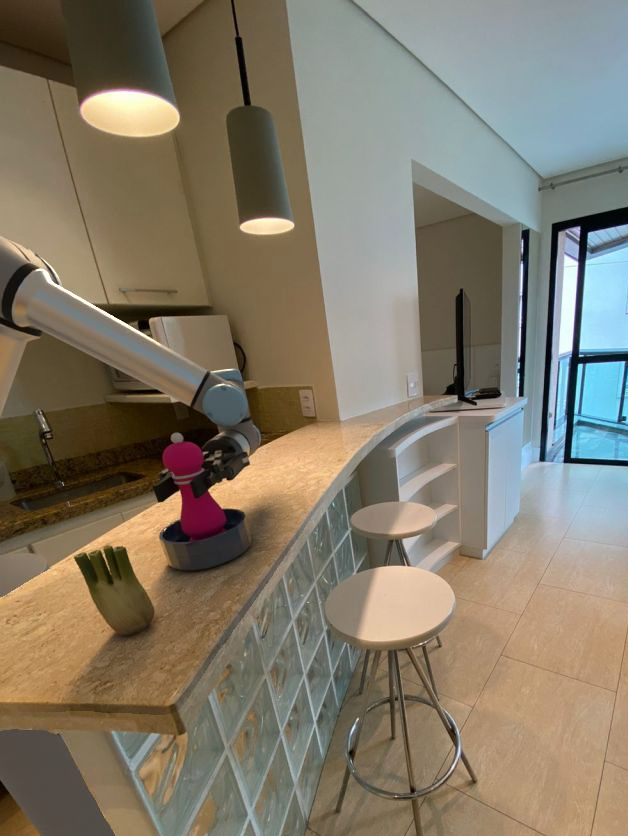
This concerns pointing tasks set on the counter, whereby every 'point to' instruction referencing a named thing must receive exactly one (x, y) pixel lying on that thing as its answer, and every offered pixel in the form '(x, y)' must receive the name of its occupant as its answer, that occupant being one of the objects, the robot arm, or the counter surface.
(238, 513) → the bowl
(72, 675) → the counter surface
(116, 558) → the fennel bulb
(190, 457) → the pepper mill
